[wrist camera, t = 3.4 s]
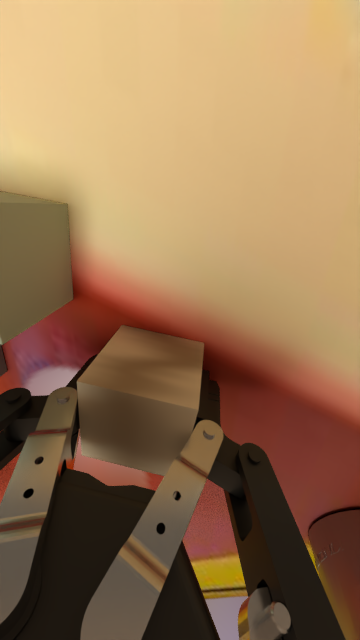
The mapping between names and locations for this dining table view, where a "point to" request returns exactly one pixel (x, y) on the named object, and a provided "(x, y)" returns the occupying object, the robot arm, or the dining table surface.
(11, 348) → the dining table surface
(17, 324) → the green block
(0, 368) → the base plate
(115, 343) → the birch block
